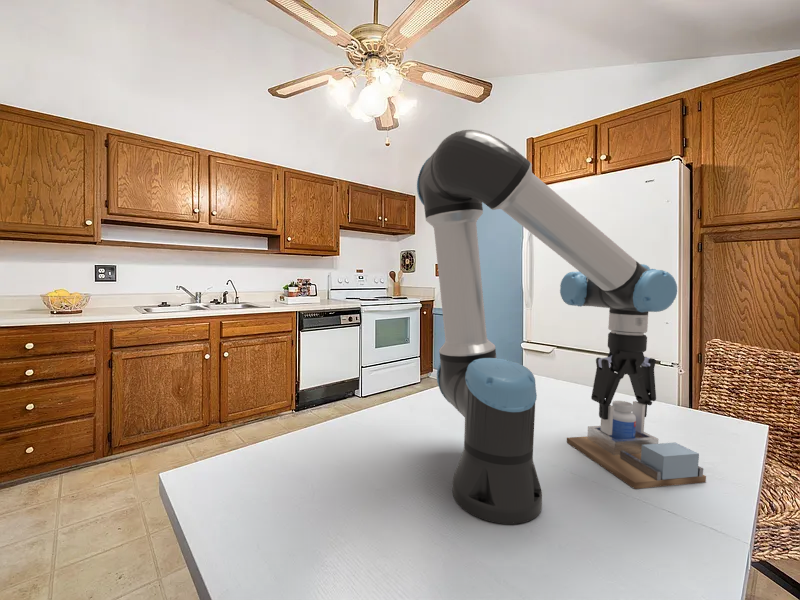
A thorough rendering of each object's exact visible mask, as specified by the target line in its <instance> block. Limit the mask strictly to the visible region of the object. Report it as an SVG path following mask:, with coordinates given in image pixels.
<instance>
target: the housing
mask: <svg viewBox="0 0 800 600" xmlns="http://www.w3.org/2000/svg"><path fill="white" fill-rule="evenodd" d="M699 459H700V453H699V452H697V451H695V450H692V449H691V448H689V447H688V448H687V447H686V446H684V445H681V444H680V443H677V442H662V443H658V444H646V445H642V450H641V461H643V462H645V463H646V464H648V465H650V466H652V467H653V468H655V469H657V470H658V471H660V472H661V479H662V480H664V479H675V478H686V477H697V476H698V466H699V461H700V460H699Z"/></svg>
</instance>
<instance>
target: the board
mask: <svg viewBox="0 0 800 600" xmlns="http://www.w3.org/2000/svg"><path fill="white" fill-rule="evenodd" d="M566 443H567V444H568V445H570V446H571V447H573V448H574V449H576V450H577V451H578V452H580V453H581V454H583V455H584V456H586V457H587V458H588V459H590V460H591V461H593V462H594V463H596V464H597V465H599V466H600V467H601V468H603V469H605V470H607V471H608V472H609V473H611V474H612V475H613V476H615V477H616V478H618V479H619V480H621V481H622V482H623V483H625V484H626V485H628V486H630V487H631V488H632V489H634V490H640V489H649V488H650V489H651V488H657V487H658V488H660V487H669V486H670V487H671V486H679V485H688V484H700V483H701V484H703V483H706V481H707V475H706V474H703V476H702V477H699V476H697V477H686V478H675V479H664V480H662V479H661V480H659V481H657V480H655V479H653V478H652V477H650V476H649V475H647V474H645V473H644V472H642V471H640V470H639V469H637V468H635V467H634V466H632V465H631V464H629V463H627V462H626V461H624V460H622V459H621V458H620V455H613V454H611V453H610V452H608V451H606V450H605V449H603V448H601V447H600V446H598V445H597V444H595V443H593V442H592V441H590V440H588V439H587V436H573V437H572V436H571V437H566ZM631 455H632V456H634V457H636V458H638V459H639V460H641V453H640V454H631Z"/></svg>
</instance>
